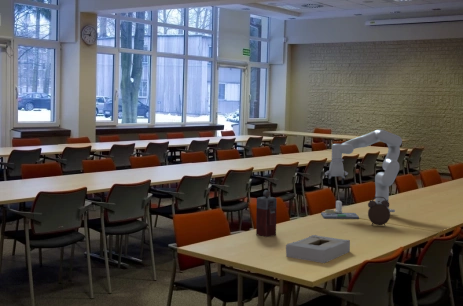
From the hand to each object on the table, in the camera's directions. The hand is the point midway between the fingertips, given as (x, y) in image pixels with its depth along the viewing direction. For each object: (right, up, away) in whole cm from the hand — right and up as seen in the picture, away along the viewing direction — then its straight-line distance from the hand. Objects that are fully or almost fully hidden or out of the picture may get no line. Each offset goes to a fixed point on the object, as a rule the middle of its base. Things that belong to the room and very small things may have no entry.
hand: (336, 183), depth 454 cm
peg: (-2, -21, 0) cm, 22 cm away
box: (-30, -33, -117) cm, 125 cm away
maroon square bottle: (-55, -29, -70) cm, 93 cm away
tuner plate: (+2, -24, -4) cm, 24 cm away
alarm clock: (+22, -27, -38) cm, 51 cm away
